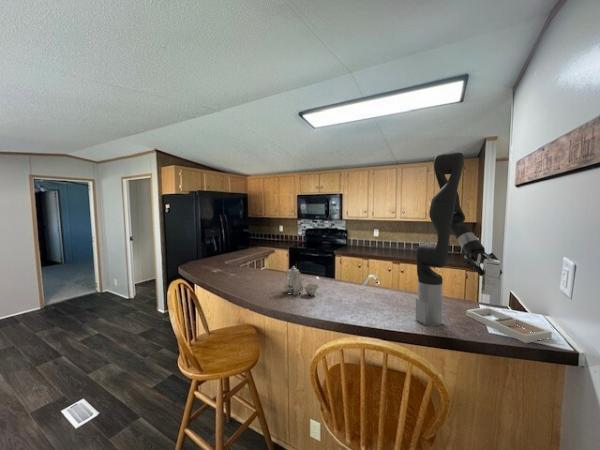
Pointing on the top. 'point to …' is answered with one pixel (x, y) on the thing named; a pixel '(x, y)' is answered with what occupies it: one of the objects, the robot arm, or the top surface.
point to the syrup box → (491, 277)
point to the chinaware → (298, 283)
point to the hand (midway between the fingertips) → (491, 274)
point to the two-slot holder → (508, 321)
